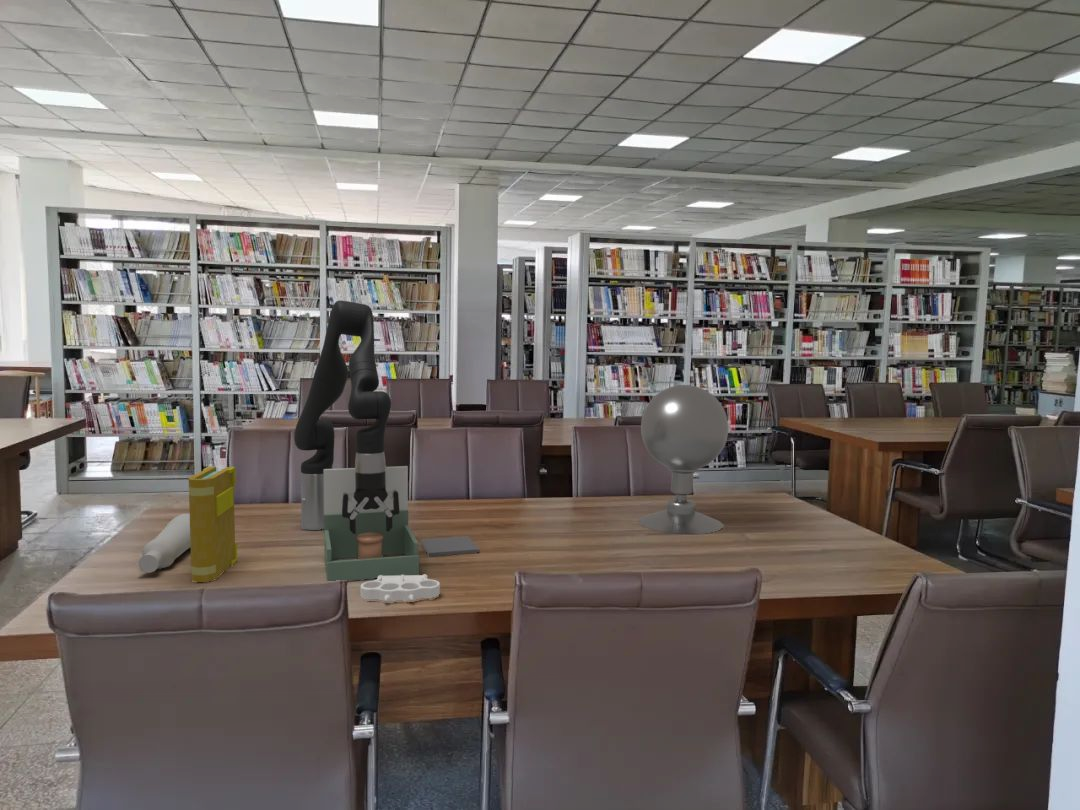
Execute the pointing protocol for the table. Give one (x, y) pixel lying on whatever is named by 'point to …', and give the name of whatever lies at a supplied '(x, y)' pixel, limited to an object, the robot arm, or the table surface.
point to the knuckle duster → (400, 588)
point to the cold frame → (367, 529)
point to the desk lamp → (683, 452)
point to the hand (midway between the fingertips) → (371, 531)
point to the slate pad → (449, 545)
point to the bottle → (167, 545)
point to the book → (212, 523)
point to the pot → (369, 545)
